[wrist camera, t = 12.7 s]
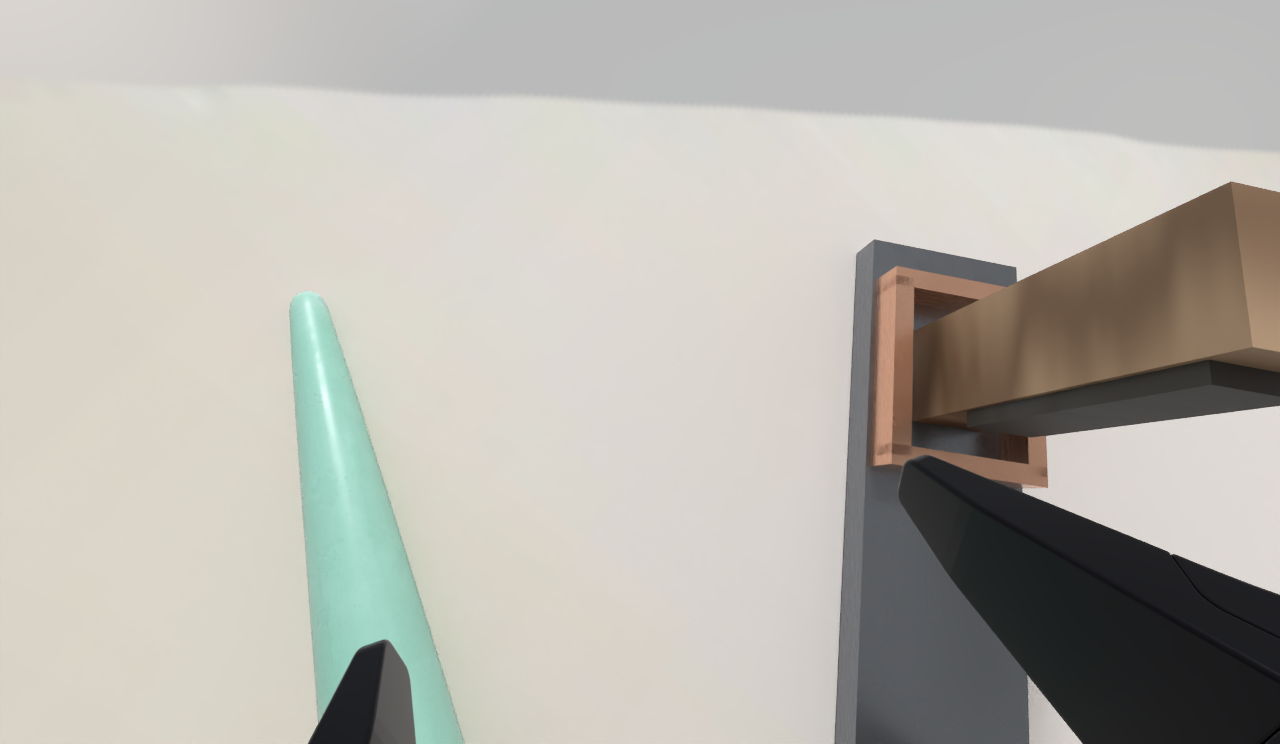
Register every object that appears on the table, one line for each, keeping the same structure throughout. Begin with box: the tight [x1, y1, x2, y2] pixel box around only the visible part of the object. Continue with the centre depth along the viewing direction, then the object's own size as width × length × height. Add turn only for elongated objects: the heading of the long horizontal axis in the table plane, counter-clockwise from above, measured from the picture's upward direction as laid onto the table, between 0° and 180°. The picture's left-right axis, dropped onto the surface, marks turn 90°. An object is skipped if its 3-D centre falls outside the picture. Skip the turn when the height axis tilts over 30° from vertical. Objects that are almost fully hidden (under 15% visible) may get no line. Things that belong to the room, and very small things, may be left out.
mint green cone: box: [290, 291, 465, 744], centre depth 18 cm, size 5×6×27 cm
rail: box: [835, 240, 1048, 744], centre depth 18 cm, size 26×7×14 cm, turn 172°
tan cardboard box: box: [912, 182, 1280, 438], centre depth 18 cm, size 5×3×12 cm, turn 172°
